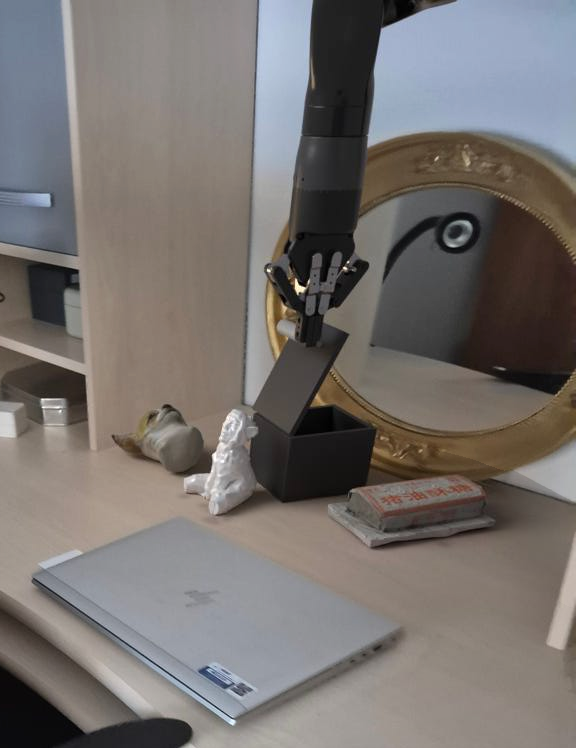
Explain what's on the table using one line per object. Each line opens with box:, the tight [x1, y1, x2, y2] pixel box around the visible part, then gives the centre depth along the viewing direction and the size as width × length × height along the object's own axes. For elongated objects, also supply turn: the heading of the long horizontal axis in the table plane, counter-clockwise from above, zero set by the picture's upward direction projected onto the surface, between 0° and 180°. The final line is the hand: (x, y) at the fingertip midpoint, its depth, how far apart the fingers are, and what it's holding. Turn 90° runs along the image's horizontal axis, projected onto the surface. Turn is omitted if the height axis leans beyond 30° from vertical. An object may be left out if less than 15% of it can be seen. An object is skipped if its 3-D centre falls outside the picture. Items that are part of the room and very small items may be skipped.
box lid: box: [251, 318, 351, 436], centre depth 106 cm, size 13×11×5 cm
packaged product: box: [327, 473, 496, 548], centre depth 104 cm, size 18×5×10 cm
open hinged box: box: [248, 403, 378, 504], centre depth 114 cm, size 13×11×9 cm
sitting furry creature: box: [183, 408, 258, 516], centre depth 109 cm, size 10×9×12 cm
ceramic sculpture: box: [110, 403, 205, 473], centre depth 121 cm, size 11×9×15 cm
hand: (306, 345), depth 101 cm, fingers closed
